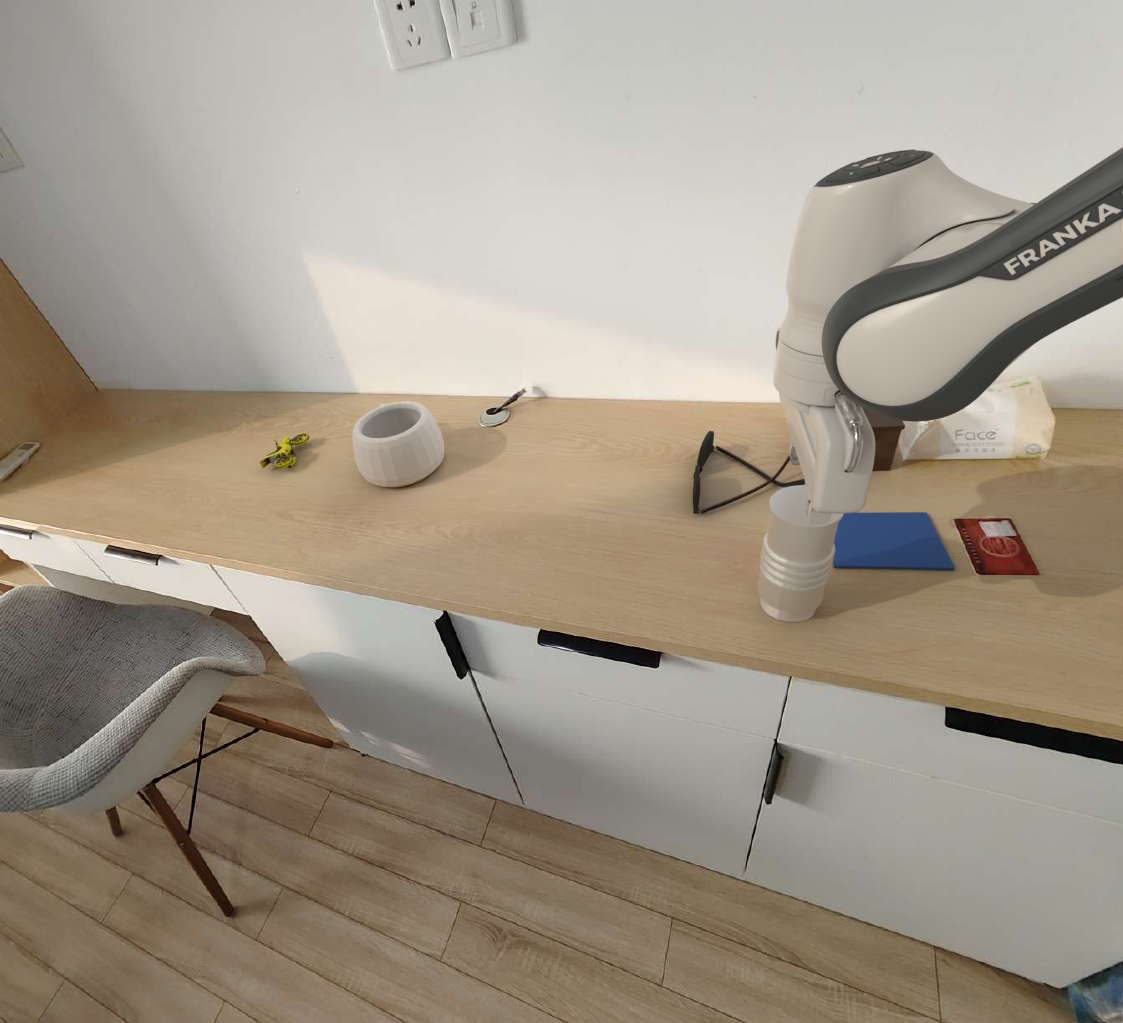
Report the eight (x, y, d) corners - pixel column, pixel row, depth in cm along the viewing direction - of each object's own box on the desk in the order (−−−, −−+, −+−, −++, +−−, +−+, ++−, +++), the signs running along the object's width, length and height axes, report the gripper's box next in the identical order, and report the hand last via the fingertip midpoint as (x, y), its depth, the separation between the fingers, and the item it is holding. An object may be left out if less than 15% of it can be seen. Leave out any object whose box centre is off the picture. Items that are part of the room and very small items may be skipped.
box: (874, 434, 91) (885, 390, 87) (892, 471, 85) (905, 425, 80) (803, 437, 94) (810, 394, 90) (815, 473, 88) (823, 429, 83)
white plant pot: (458, 473, 108) (446, 425, 101) (368, 504, 106) (351, 457, 100) (430, 421, 125) (418, 377, 118) (352, 446, 123) (336, 403, 117)
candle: (779, 573, 75) (796, 476, 66) (834, 604, 70) (861, 504, 61) (741, 601, 73) (753, 505, 64) (794, 635, 68) (815, 536, 59)
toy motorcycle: (284, 459, 118) (253, 461, 120) (291, 474, 120) (261, 476, 122) (308, 425, 126) (279, 428, 129) (315, 441, 129) (287, 443, 131)
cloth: (925, 514, 77) (926, 512, 77) (954, 570, 70) (955, 567, 70) (817, 514, 81) (818, 512, 81) (834, 567, 74) (834, 565, 74)
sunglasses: (799, 528, 80) (805, 498, 77) (683, 514, 87) (684, 487, 84) (804, 455, 91) (809, 427, 88) (701, 448, 98) (702, 422, 95)
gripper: (912, 427, 44) (871, 561, 53) (846, 313, 59) (822, 432, 68) (814, 431, 47) (789, 560, 55) (774, 320, 61) (759, 434, 70)
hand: (807, 488), depth 61 cm, fingers open, 8 cm apart
